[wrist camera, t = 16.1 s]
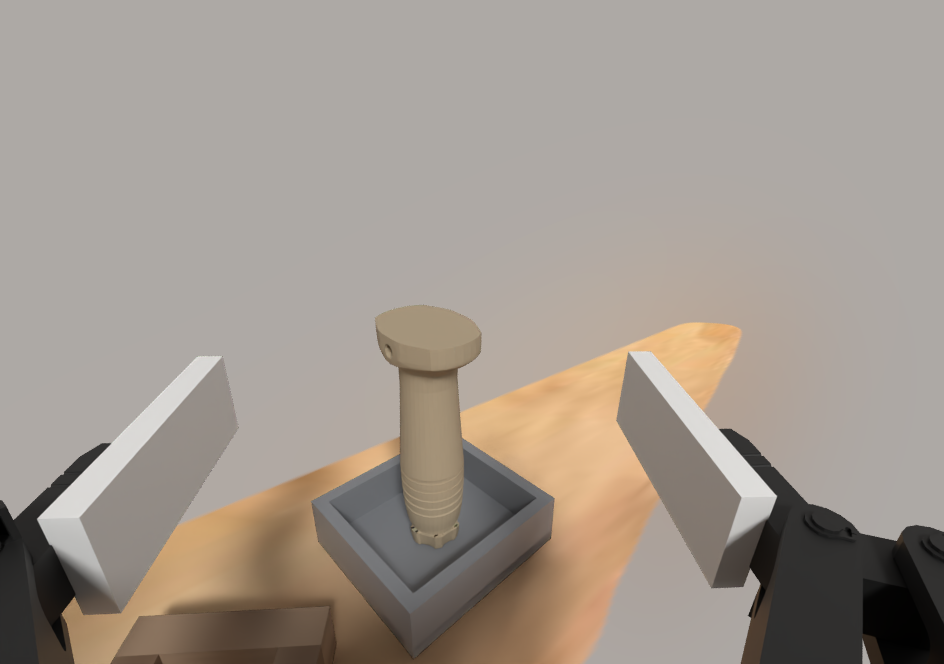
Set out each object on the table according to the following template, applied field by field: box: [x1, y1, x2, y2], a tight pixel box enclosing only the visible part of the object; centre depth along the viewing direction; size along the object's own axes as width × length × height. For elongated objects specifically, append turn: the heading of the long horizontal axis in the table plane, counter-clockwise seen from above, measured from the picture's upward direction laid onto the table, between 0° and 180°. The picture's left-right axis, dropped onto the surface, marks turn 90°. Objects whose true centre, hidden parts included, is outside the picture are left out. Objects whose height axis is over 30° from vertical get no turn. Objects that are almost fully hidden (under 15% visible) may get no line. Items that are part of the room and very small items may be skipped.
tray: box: [311, 438, 554, 659], centre depth 32 cm, size 12×11×4 cm
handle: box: [375, 305, 481, 549], centre depth 29 cm, size 5×6×15 cm
